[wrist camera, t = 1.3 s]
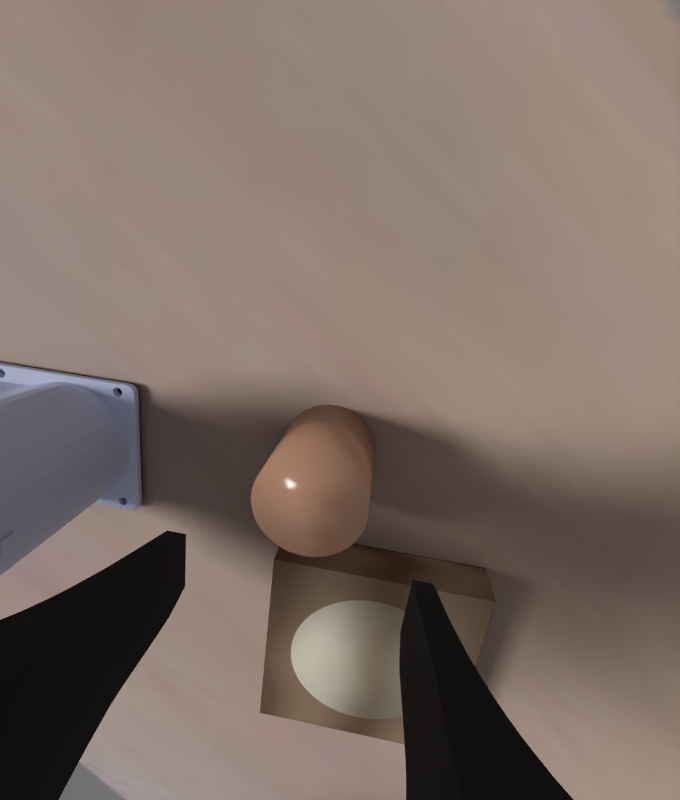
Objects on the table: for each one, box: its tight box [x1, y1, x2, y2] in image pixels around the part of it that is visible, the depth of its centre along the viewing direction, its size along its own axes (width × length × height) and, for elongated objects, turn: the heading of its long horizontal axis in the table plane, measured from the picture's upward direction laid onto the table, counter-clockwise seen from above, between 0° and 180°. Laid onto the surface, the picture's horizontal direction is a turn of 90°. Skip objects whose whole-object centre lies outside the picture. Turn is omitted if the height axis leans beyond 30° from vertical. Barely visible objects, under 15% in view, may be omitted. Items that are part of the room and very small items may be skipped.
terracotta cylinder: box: [251, 405, 374, 557], centre depth 20 cm, size 5×5×6 cm
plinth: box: [260, 544, 496, 744], centre depth 25 cm, size 12×12×2 cm
